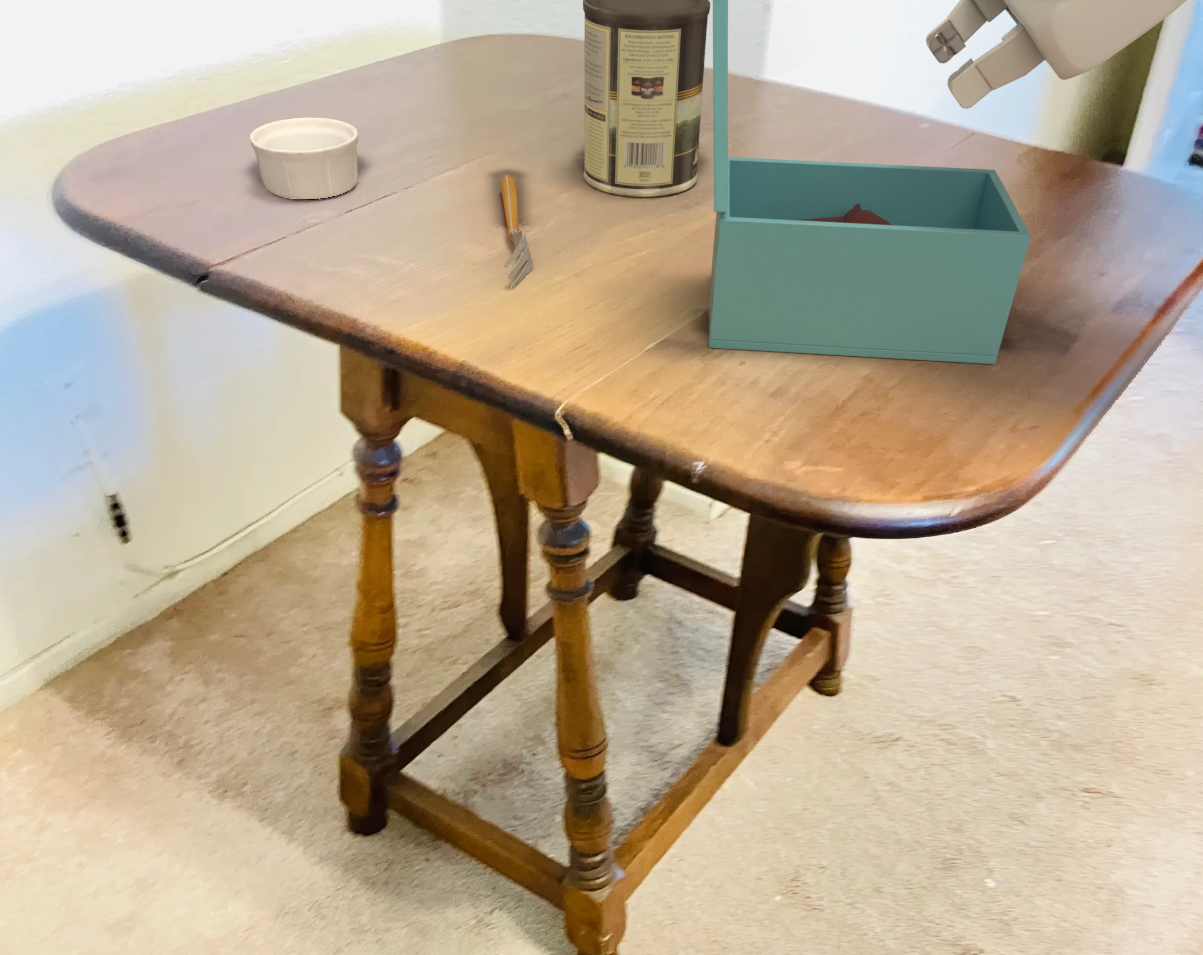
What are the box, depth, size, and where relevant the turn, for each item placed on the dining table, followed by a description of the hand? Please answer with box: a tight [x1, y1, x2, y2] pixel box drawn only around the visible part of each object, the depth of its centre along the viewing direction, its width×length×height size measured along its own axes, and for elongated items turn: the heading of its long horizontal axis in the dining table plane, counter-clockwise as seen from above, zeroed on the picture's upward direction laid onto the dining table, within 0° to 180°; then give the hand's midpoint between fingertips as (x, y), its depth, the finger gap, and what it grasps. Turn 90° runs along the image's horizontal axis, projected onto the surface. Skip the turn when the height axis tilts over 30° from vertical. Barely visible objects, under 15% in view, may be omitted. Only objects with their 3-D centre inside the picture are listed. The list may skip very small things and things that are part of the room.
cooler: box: [708, 156, 1032, 365], centre depth 72 cm, size 19×12×9 cm, turn 85°
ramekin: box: [249, 116, 359, 200], centre depth 92 cm, size 9×9×4 cm
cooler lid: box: [712, 0, 729, 213], centre depth 64 cm, size 19×12×1 cm
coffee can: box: [582, 0, 711, 198], centre depth 91 cm, size 10×10×14 cm
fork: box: [500, 175, 535, 290], centre depth 85 cm, size 2×2×20 cm
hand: (942, 73), depth 65 cm, fingers open, 8 cm apart
